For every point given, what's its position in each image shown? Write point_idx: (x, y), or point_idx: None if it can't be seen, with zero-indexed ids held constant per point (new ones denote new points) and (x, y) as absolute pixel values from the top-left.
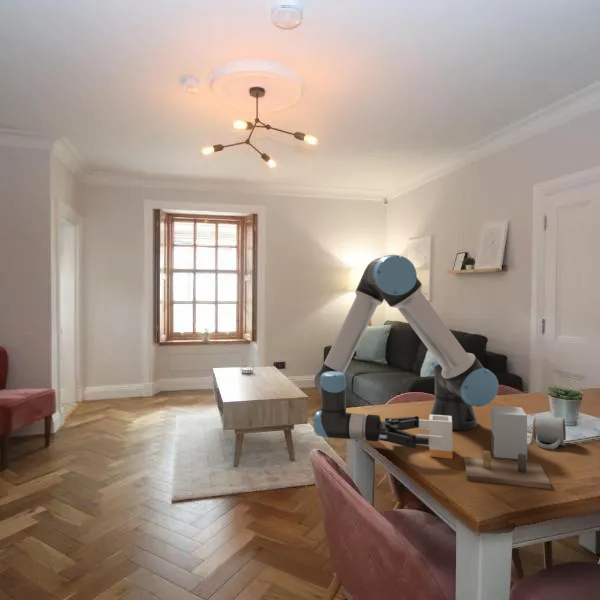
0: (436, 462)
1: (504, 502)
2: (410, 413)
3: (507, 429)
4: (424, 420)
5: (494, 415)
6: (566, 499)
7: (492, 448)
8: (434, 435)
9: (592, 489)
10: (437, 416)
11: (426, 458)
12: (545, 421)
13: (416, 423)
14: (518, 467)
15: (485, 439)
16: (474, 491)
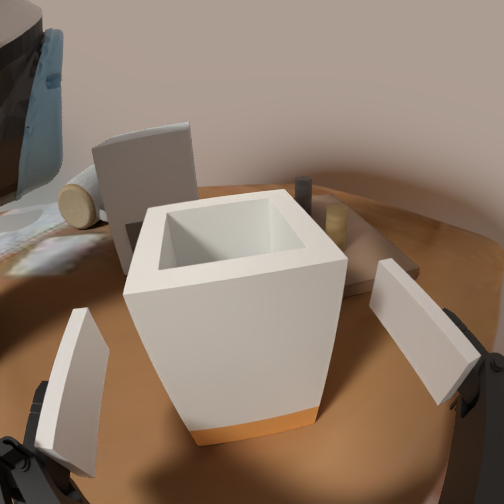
0: (363, 378)
1: (436, 230)
2: None
3: (194, 170)
4: (60, 405)
5: (189, 135)
6: (353, 195)
7: None
8: (401, 283)
9: (294, 184)
10: (162, 252)
11: (347, 426)
12: (91, 177)
13: (57, 481)
14: (309, 208)
15: (67, 289)
16: (447, 261)
